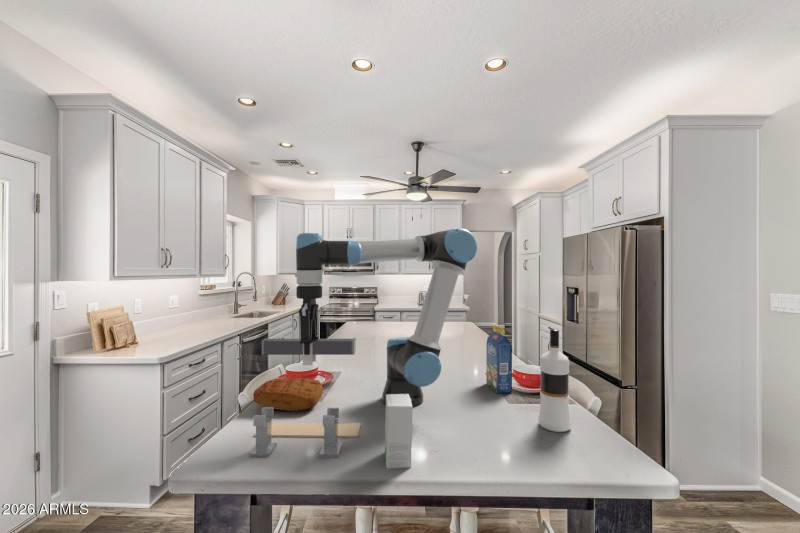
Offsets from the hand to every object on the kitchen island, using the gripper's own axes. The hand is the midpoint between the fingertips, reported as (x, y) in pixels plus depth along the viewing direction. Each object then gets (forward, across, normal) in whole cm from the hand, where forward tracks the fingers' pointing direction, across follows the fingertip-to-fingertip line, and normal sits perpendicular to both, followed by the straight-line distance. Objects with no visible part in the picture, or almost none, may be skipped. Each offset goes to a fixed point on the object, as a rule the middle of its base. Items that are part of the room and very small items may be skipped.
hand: (309, 362), depth 108 cm
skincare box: (+21, +16, +27) cm, 37 cm away
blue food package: (+21, -39, +67) cm, 80 cm away
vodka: (+21, -4, +75) cm, 78 cm away
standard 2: (+20, +12, +9) cm, 25 cm away
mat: (+20, 0, 0) cm, 20 cm away
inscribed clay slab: (+21, -20, -12) cm, 31 cm away
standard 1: (+20, +12, -9) cm, 25 cm away
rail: (-3, 0, 0) cm, 3 cm away
